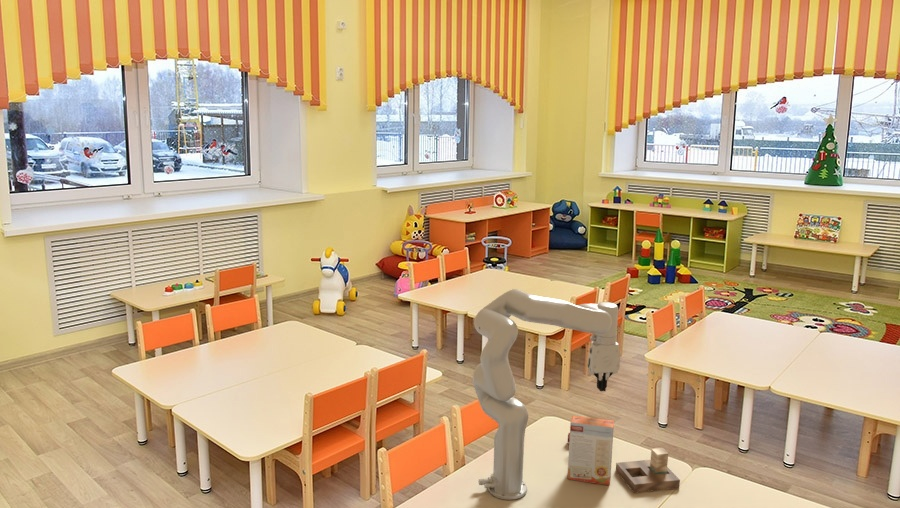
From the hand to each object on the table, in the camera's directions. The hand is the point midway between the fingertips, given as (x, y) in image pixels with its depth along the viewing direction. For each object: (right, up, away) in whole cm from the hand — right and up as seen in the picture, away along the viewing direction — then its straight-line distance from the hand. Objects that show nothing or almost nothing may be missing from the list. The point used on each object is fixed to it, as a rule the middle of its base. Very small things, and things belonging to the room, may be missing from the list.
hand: (601, 389), depth 242 cm
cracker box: (-5, -29, -5) cm, 30 cm away
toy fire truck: (-5, -25, +14) cm, 29 cm away
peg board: (+14, -29, -5) cm, 33 cm away
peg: (+18, -29, -4) cm, 34 cm away
